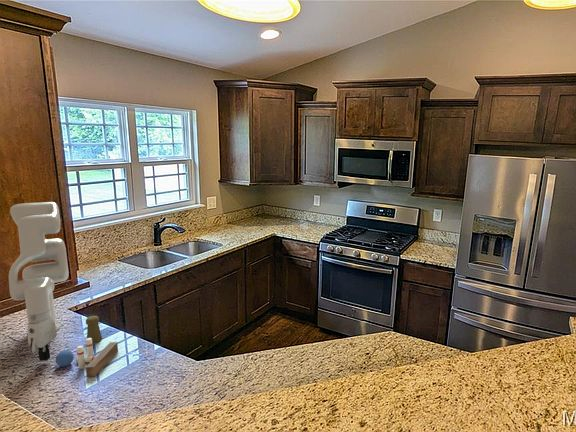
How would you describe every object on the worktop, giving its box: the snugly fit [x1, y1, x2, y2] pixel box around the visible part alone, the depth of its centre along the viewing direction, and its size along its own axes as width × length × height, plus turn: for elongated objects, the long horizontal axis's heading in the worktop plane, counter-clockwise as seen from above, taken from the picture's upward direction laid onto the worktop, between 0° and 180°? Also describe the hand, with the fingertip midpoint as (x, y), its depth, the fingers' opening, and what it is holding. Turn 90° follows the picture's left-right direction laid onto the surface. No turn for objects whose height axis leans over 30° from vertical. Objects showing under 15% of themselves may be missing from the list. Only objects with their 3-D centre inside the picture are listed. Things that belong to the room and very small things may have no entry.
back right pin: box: [76, 345, 86, 370], centre depth 140 cm, size 2×2×8 cm
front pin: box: [75, 355, 97, 364], centre depth 144 cm, size 2×2×8 cm
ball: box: [55, 349, 75, 367], centre depth 141 cm, size 6×6×6 cm
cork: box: [85, 315, 103, 345], centre depth 160 cm, size 6×6×11 cm
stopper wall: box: [85, 341, 119, 378], centre depth 143 cm, size 3×18×4 cm, turn 179°
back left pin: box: [85, 337, 95, 357], centre depth 146 cm, size 2×2×8 cm
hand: (44, 359), depth 143 cm, fingers closed
